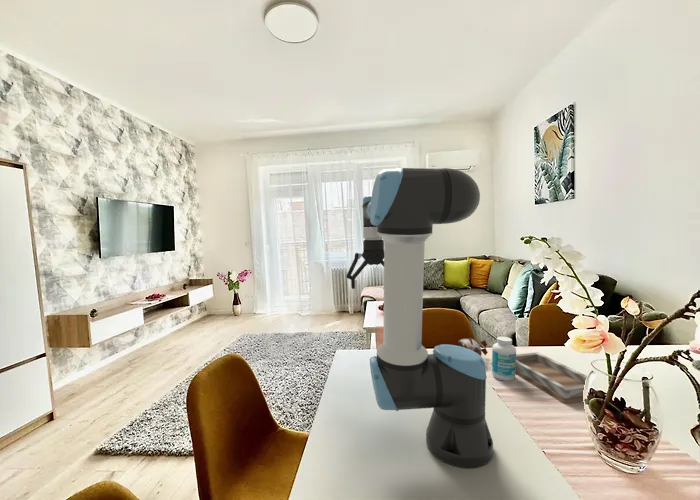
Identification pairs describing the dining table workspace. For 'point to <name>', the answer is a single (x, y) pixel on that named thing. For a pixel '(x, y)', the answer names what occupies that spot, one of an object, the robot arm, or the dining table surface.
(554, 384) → the grey rimmed shallow tray
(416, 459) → the dining table surface
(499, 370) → the pill bottle
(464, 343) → the decorative duck model
